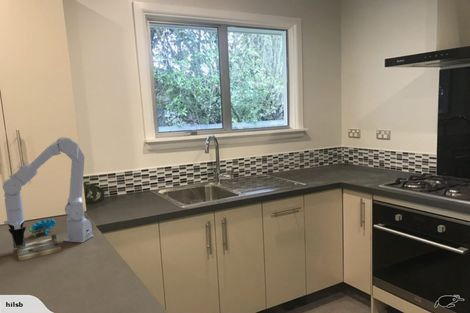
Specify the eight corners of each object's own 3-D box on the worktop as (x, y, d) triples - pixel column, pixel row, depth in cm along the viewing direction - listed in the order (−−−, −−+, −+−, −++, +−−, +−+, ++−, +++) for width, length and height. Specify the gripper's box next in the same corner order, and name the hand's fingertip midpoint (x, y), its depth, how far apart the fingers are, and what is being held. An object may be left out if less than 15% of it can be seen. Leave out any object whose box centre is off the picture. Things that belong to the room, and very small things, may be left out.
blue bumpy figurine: (56, 225, 169) (53, 214, 162) (59, 235, 167) (57, 225, 159) (30, 233, 164) (26, 223, 156) (33, 244, 161) (30, 234, 154)
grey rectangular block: (24, 243, 145) (23, 229, 144) (26, 249, 139) (24, 234, 138) (13, 246, 142) (11, 231, 142) (14, 251, 137) (12, 236, 136)
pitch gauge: (55, 240, 154) (54, 231, 153) (61, 250, 141) (60, 241, 141) (16, 248, 146) (15, 239, 145) (19, 260, 133) (17, 250, 133)
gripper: (2, 207, 144) (6, 239, 146) (3, 215, 132) (7, 250, 134) (22, 204, 148) (26, 235, 150) (25, 211, 136) (29, 245, 138)
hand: (18, 242), depth 142 cm, fingers open, 7 cm apart
